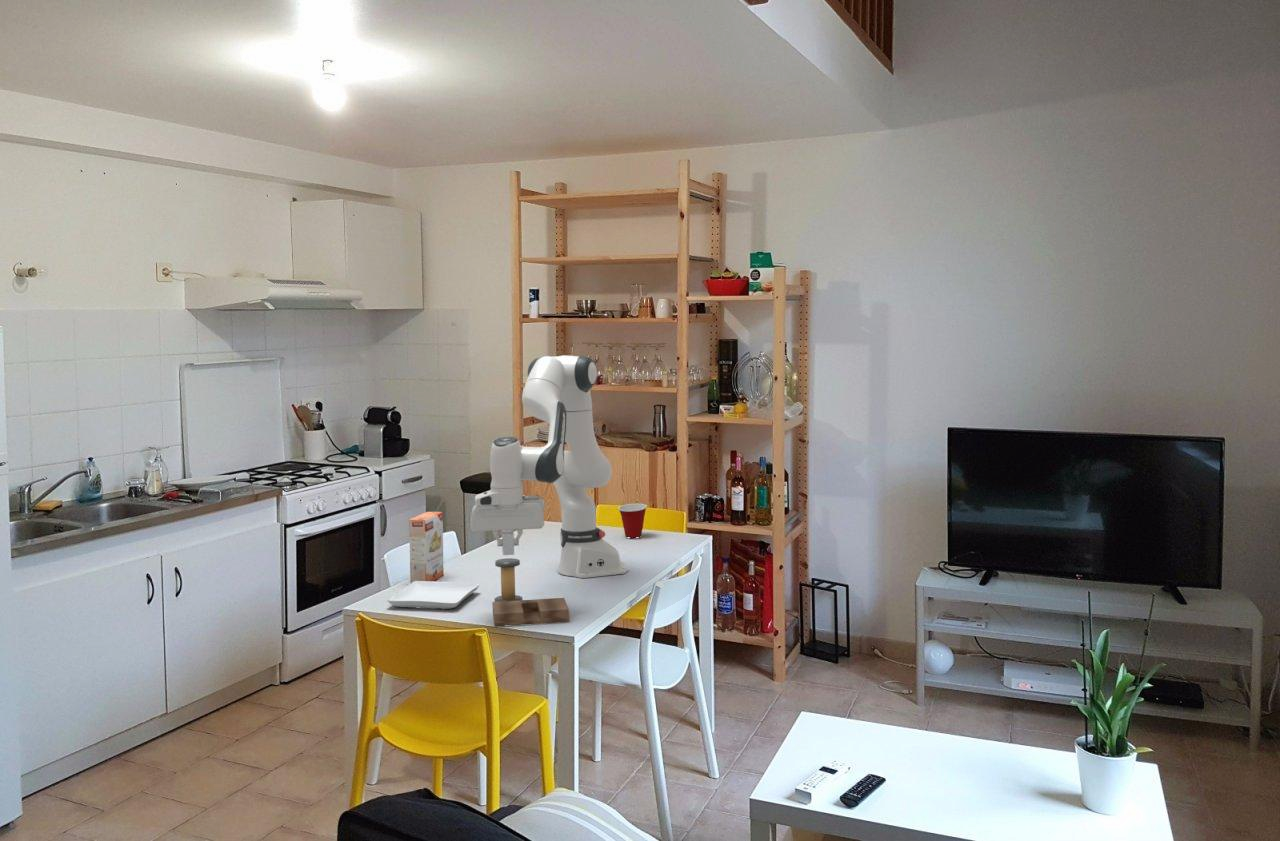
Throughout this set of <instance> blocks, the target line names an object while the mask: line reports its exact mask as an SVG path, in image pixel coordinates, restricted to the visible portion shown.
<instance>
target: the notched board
mask: <svg viewBox="0 0 1280 841" xmlns="http://www.w3.org/2000/svg"><path fill="white" fill-rule="evenodd" d="M491 605H492V619H493V618H494V619H493V625H494V627H495V628H498V626H501V627H506V626H505V625H516V626H522V625H521V624H531V625H541V623H546V624H558V623H557V622H561V623H570V608H569V606H568V604H567V602H566V599H565V598H564V597H553V598H537V599H534V598H533V599H522V600H518V601H502V602H495V601H492V604H491Z"/></svg>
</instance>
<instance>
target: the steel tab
mask: <svg viewBox="0 0 1280 841" xmlns="http://www.w3.org/2000/svg"><path fill="white" fill-rule="evenodd" d="M514 538H515V534H514V530H501V539H502V540H503V546H501V547H502V549H501V550H502V551H501V552H502V556H514V555H515V546H514Z"/></svg>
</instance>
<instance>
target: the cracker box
mask: <svg viewBox="0 0 1280 841" xmlns="http://www.w3.org/2000/svg"><path fill="white" fill-rule="evenodd" d="M443 513H444V512H443V511H426V512H423V513H421V514H419V515H417V516H414V517H411V518H409V520H408V527H409V529H408V532H409V533H408V534H409V537H408V538H409V568H410V569H409V572H410V573H409V576H410V578H409V579H410V584H411V583H412V582H414V581H436V580H438V579H439V578H441V577H443V576H444V574H445V573H444V521H443V520H444V519H443V518H444V514H443Z"/></svg>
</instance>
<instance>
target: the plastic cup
mask: <svg viewBox="0 0 1280 841" xmlns="http://www.w3.org/2000/svg"><path fill="white" fill-rule="evenodd" d="M647 508H648V506H647V504H644V503H627V504H623V505H620V506H618V508H617V509H618V511H619V514H620V516H621V521H622V526H623V527H622V528H623V531H624V536H625V538H626V537H630V538H636V537H640V536H641V537H642V534H643V528H644V523H645V522H644V521H645V516H646V510H647Z"/></svg>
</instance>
